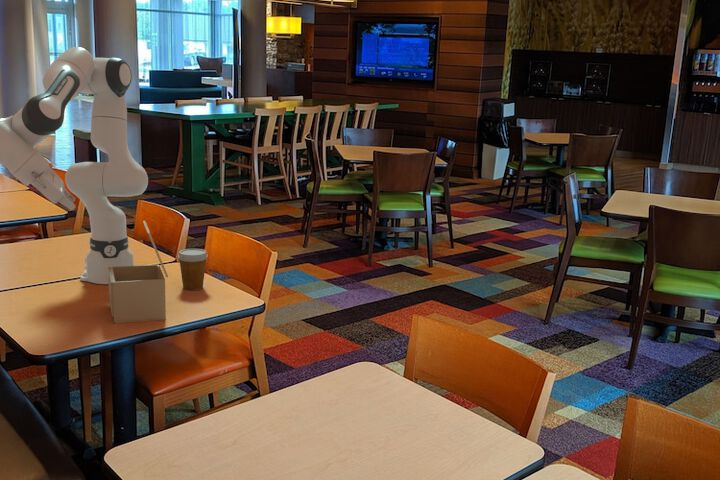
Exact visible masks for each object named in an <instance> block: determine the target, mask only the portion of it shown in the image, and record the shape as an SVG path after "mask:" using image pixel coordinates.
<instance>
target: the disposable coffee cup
mask: <svg viewBox="0 0 720 480" xmlns="http://www.w3.org/2000/svg"><path fill="white" fill-rule="evenodd" d="M208 256H209V255H208V254H207V251H206V250H205V249H202V248H186V249H181V250H179V251H178V254H177V258H178V260H179V267H180V268H179V269H180V274H181V283H182V287H183V289H184V290H187V289H188V290H189V291H196V290H195V289H198V290H200V288H201V289H203V288H202V287H204V279H205V271H206V265H207V259H208Z"/></svg>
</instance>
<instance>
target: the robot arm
mask: <svg viewBox="0 0 720 480" xmlns="http://www.w3.org/2000/svg"><path fill="white" fill-rule="evenodd" d="M132 77H133V75H132V70H131V68H130V66H129V63H127V61H125V59H122V58H118V57H109V58H108V57H93V55H92V53H90V51H89V50H87V49H85V48H84V47H81V46H73V47H72V46H71V47H69V48H68V49H66V50H64V51H63V52H61V54H59V55H58V56H57V57H56V59H54V61H52V63H51V64H50V65H49V66H48V68H47V69H46V71H45V73H44V75H43V78H42V85H43V87H44V88H43V89H44V90H45V92H44V93H40V94H38V95H34V96H33V97H31V98H30V99H29V100H27V102H26V103H25V104H24V105H23V107H21V108H20V109H19V110H18V111H17V112H16V113H15V114H14V115H11V116H8V117H3V118H0V165H2V166H4V167H5V168H6V169H8V171H9V173H10V174H11V175H12V176H14V177H15V178H16V179H17V180H18V181H19V182H20V183H22V184H23V185H24V186H25V187H28V186H29V185H32V186H33V187H34V188H36V190H37V191H39V192H40V193H41V194H42V195H43V196H45V197H46V199H48V200H49V201H50V202H51V203H52V204H57V203H60V205H62V206H64V207H66V208H67V209H68V210H69V211H74V210H75V209H76V203H74V202H75V201H76V198H75V197H74V196H73V195H72V194H74V195H75V196H76V197H77V198H78V199H79V200H80V201H81V202H82V204H83V205H84V206H85V209H86V210H87V214H88V216H89V223H90V234H91V235H90V237H89V238H90V239H89V247H90V251H89V252H88V253H87V254H86V256H85V257H84V264H85V270H84V271H83V273H82V274H81V276H80V277H79V280H80V281H83V282H88V283H92V284H97V285H109V277H108V267H119V266H135V265H134V264H135V263H134V262H135V261H134V253H133V252H131V251H130V250H129V237H128V236H127V216H126V214H125V212H124V211H123V210H122V209H121V208H119V207H117V206H115V205H113V204H112V203H111V202H110V200H109V199H108V197H119V198H121V197H122V198H123V197H124V198H129V197H135V196H142V194H143V193H145V191H146V190H147V187H148V185H149V177H148V173H147V171H146V170H145V168H144V167H143V166H142V165H141V164H139V163H138V161H136V160H135V159H134V157H133V155H132V154H131V152H130V148H129V145H128V134H127V133H128V127H127V125H128V109H127V108H128V106H127V100H126V92H127V91H128V89H129V88H130V85H131V83H132ZM82 94H84V95H86V94H87V95H93V101H92V106H91V119H90V142H91V144H92V146H93V147H94V148H95V149H97V150H99V151H100V152H102V153H105V154H106V155H107V157H108V161H107V162H106V161H105V162H104V161H103V162H100V161H98V162H97V161H83V162H77V163H72V164H70V166H68V168H67V170H66V172H65V176H64V180H63V179H62V178H61V177H60V176H59V175H58V174H57V173H56V172H55V170H54V169H53V168H52V167H51V166H49V165H50V164H51V162H50V161H49V160H48V159H46V157H44V156H43V155H42V154H41V153H39V152H38V151H37V150H36V149H35V147H37V146H38V145H40V144H41V143H42V142H43V141H44V140H46V139H47V138H49V136H51V134H53V133H55V132H56V131H58V130H59V129H60V128H61V127H62V125H63V123H64V122H65V111H66V108H67V105H68V104H69V103H70V102H71V101H73V100H74V99H76V98H77V97H78V96H79V95H82ZM64 181H65V182H64ZM65 185H66V187H67V188H66V187H65ZM67 189H68V190H67ZM69 191H70V192H69ZM71 193H72V194H71Z"/></svg>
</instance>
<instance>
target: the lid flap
mask: <svg viewBox="0 0 720 480" xmlns="http://www.w3.org/2000/svg"><path fill="white" fill-rule="evenodd" d="M142 222H143V225H144V228H145V230H146V232H147V234H148V236H149V239H150V241H151V244H152V247H153V249H154V251H155V254H156V256H157V258H158V262H159V263H160V264H159V265H161V266H160V267H161V268H162V272H163V273H164V277H165V279H166V278H169V275H168V273H167V270H166V267H165V266H164V264H163V263H164V262H163V261H162V258H161V255H160V253H159V251H158V249H157V246H156V244H155V241H154V238H153V237H152V234H151V232H150V229H149V226H148V224H147V222H146V220H143V221H142Z"/></svg>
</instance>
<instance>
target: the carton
mask: <svg viewBox="0 0 720 480" xmlns="http://www.w3.org/2000/svg"><path fill="white" fill-rule="evenodd" d="M161 268H162V267H161V266H160V264H142V265H140V264H139V265H134V266H119V267H108V277H109V284H108V296H109V297H108V299H109V307H110V312H111V317H112V318H113V324H125V323H138V322H139V323H140V322H149V321H151V322H153V321H163V320H164V321H165V320H166V318H167V317H166V315H167V313H166V311H167V310H166V277H165V275H164V274H163V273H164V272H163V270H162V269H161Z"/></svg>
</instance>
